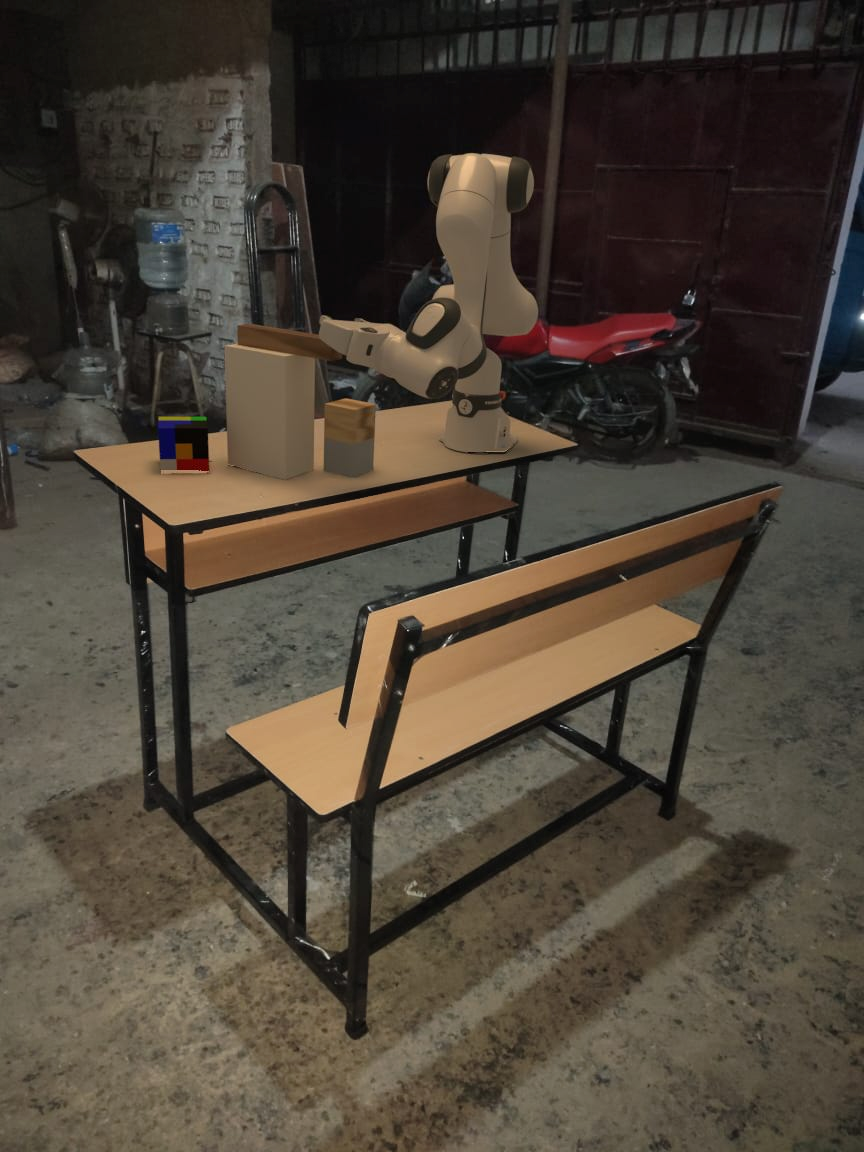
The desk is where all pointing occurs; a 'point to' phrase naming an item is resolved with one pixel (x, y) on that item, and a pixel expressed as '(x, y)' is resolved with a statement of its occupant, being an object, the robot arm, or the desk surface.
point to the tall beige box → (270, 411)
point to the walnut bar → (285, 342)
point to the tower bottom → (348, 457)
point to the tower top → (349, 421)
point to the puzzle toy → (183, 443)
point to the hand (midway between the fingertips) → (339, 320)
